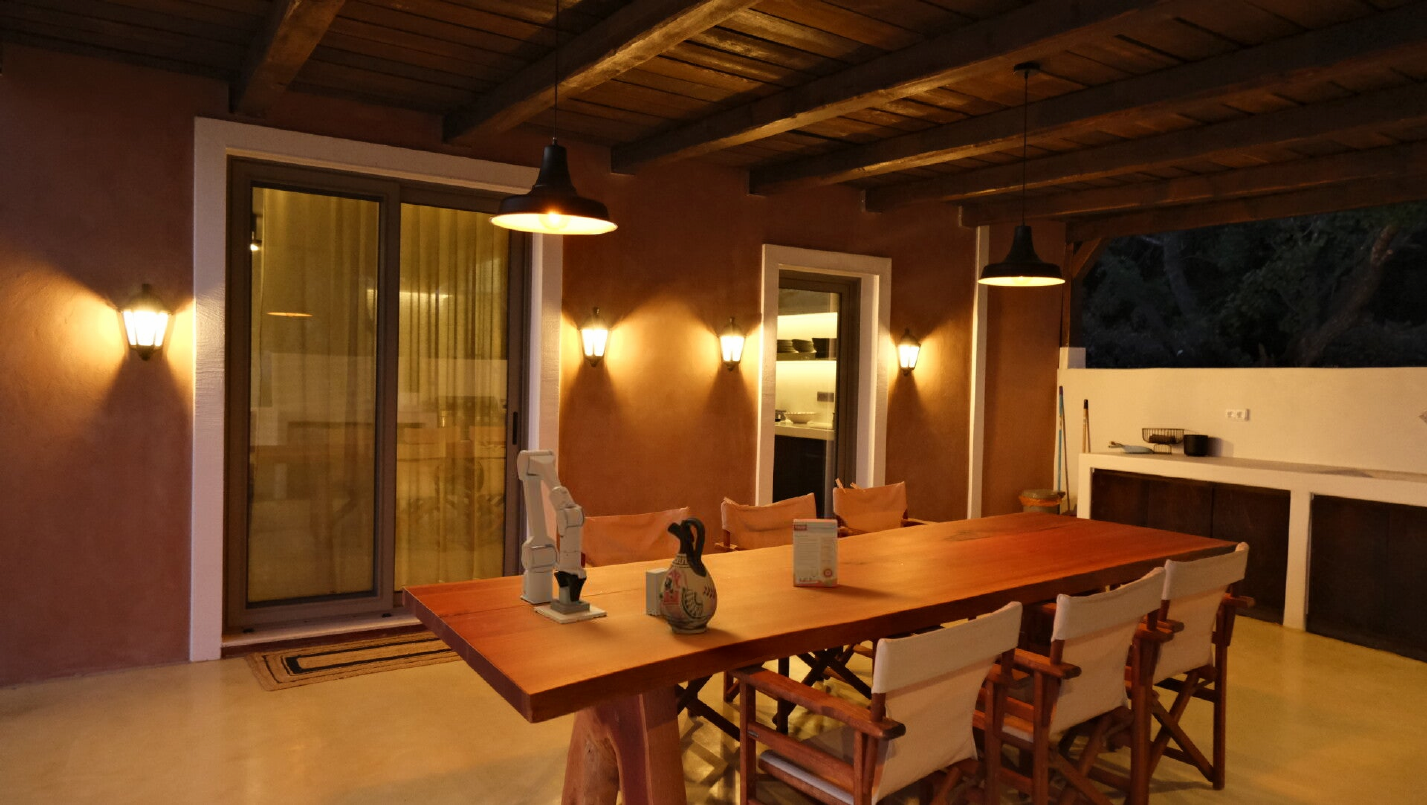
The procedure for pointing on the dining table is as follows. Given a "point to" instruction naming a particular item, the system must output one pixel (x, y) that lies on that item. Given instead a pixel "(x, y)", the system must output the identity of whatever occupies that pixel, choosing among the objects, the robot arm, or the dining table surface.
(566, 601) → the peg
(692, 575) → the ceramic jug
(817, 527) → the cracker box
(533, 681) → the dining table surface
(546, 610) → the socket holder
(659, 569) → the skincare box
